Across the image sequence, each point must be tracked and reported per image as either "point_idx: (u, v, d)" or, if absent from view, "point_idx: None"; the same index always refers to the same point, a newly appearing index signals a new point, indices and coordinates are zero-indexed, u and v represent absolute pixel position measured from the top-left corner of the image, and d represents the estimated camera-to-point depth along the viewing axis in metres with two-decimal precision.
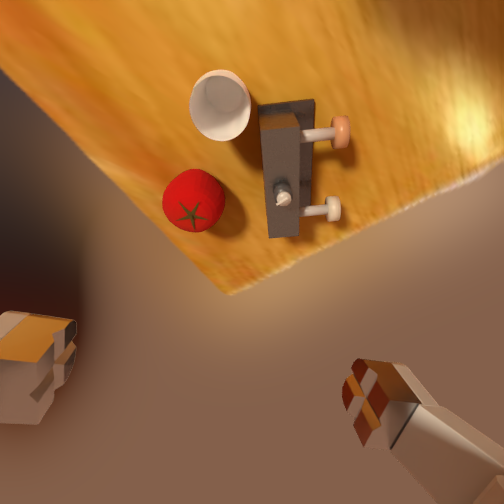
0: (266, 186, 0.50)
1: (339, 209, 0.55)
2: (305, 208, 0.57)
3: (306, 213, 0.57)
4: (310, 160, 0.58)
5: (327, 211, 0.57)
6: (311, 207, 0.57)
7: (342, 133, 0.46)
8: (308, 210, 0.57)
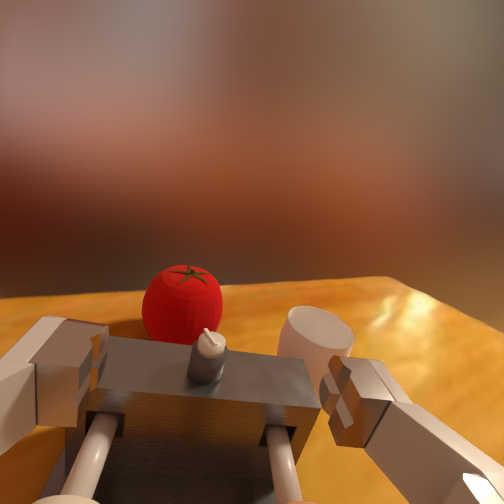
0: None
1: None
2: (109, 443, 0.22)
3: (97, 439, 0.21)
4: None
5: None
6: (103, 461, 0.21)
7: None
8: (101, 446, 0.21)
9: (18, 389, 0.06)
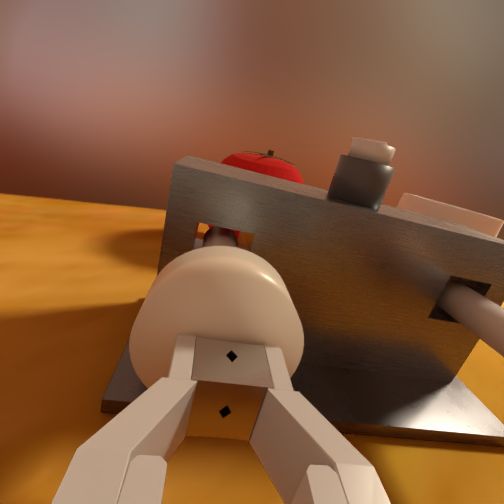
0: None
1: (276, 286, 0.08)
2: None
3: (226, 243, 0.14)
4: (343, 416, 0.15)
5: None
6: None
7: None
8: None
9: (186, 404, 0.06)
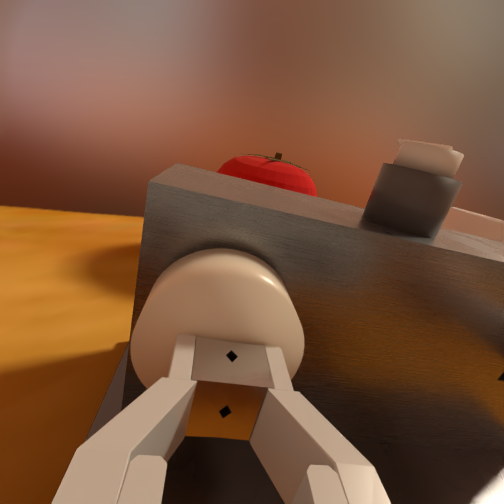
0: None
1: (276, 289, 0.08)
2: None
3: None
4: None
5: None
6: None
7: None
8: None
9: (186, 404, 0.06)
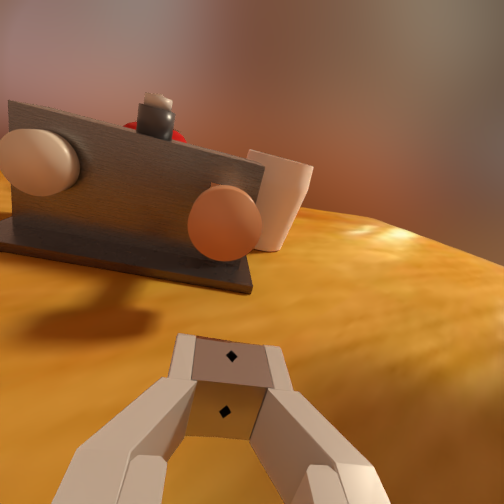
0: None
1: (51, 137, 0.22)
2: None
3: None
4: (127, 262, 0.24)
5: None
6: None
7: (241, 191, 0.20)
8: None
9: (185, 404, 0.06)
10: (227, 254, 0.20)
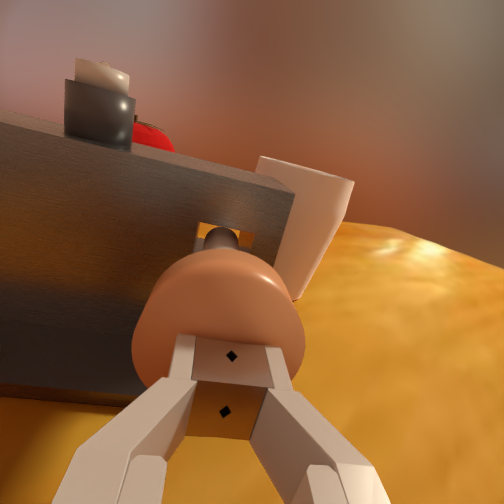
0: (133, 142, 0.18)
1: None
2: None
3: None
4: (37, 379, 0.13)
5: None
6: None
7: (258, 267, 0.09)
8: None
9: (185, 404, 0.06)
10: None
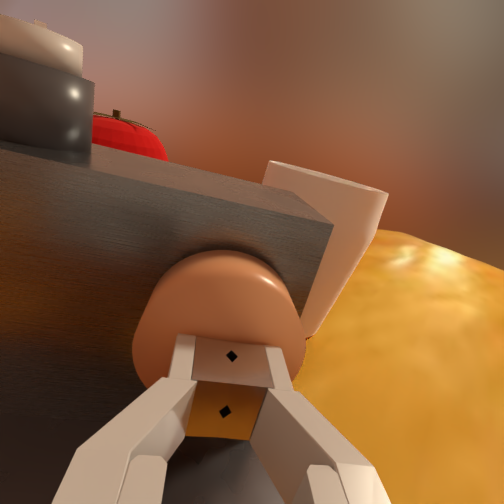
0: (100, 145, 0.13)
1: None
2: None
3: None
4: None
5: None
6: None
7: (258, 268, 0.09)
8: None
9: (185, 404, 0.06)
10: None
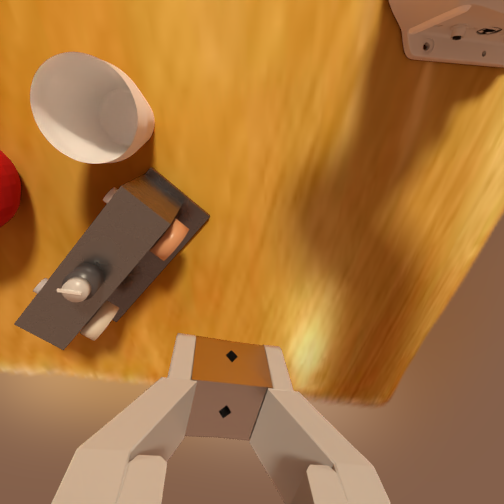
0: (71, 255, 0.30)
1: (103, 327, 0.36)
2: None
3: None
4: (160, 269, 0.43)
5: None
6: None
7: (167, 241, 0.32)
8: None
9: (185, 404, 0.06)
10: None
